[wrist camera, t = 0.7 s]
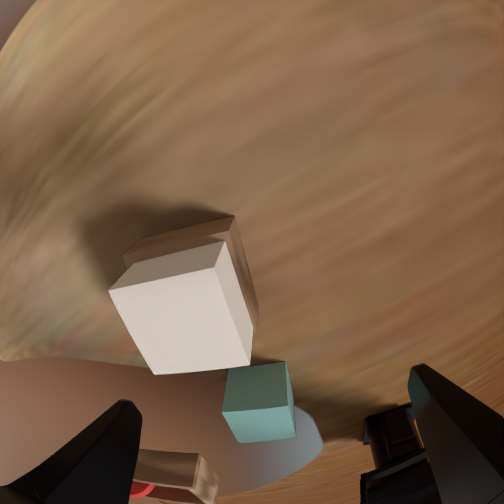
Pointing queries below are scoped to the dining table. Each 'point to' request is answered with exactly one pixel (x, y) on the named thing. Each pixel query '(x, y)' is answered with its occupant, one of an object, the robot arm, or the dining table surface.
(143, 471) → the bracket cradle
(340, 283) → the dining table surface
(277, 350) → the dining table surface
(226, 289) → the cream block
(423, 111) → the dining table surface
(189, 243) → the walnut block
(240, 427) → the teal cube
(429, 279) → the dining table surface
